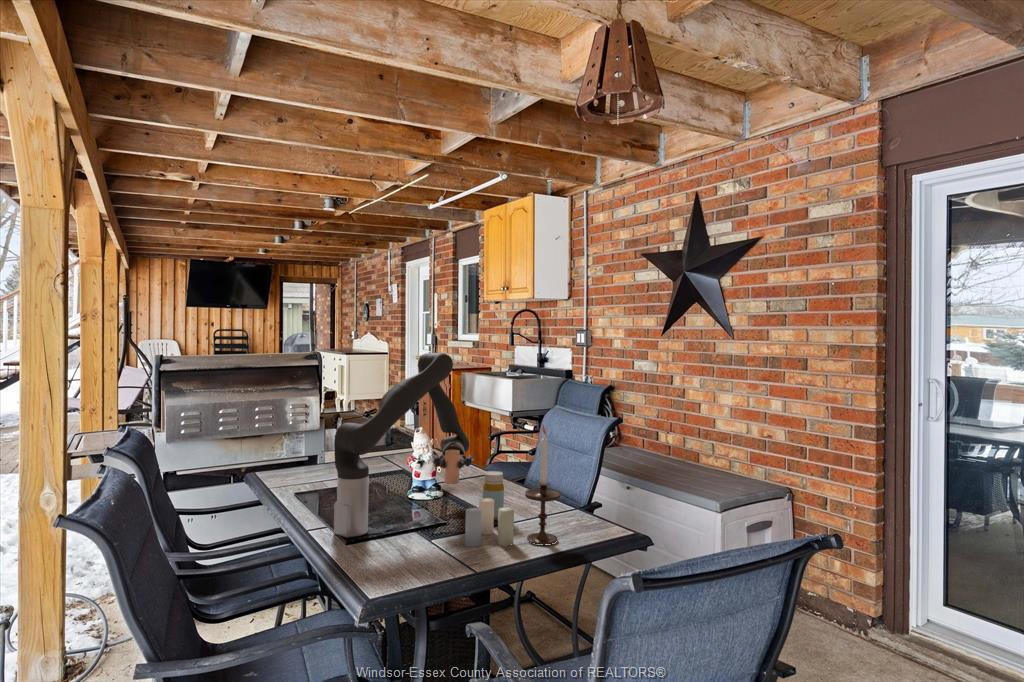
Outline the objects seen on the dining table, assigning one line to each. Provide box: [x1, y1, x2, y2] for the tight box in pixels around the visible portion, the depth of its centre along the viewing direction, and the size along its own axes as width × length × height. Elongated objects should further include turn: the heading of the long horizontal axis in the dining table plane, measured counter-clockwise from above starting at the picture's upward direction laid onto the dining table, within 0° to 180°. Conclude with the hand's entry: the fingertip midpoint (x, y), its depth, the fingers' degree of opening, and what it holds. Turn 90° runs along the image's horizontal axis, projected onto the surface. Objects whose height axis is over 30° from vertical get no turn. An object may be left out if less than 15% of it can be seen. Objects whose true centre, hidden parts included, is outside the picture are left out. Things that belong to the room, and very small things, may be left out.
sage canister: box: [497, 507, 515, 547], centre depth 181 cm, size 5×5×10 cm
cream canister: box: [478, 497, 495, 536], centre depth 190 cm, size 5×5×10 cm
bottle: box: [482, 470, 505, 521], centre depth 205 cm, size 7×7×15 cm
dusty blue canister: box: [464, 507, 482, 548], centre depth 180 cm, size 5×5×10 cm
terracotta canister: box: [444, 450, 460, 485], centre depth 196 cm, size 5×5×10 cm
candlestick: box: [524, 424, 562, 545], centre depth 184 cm, size 11×11×35 cm
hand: (452, 465), depth 193 cm, fingers closed on terracotta canister, 4 cm apart
